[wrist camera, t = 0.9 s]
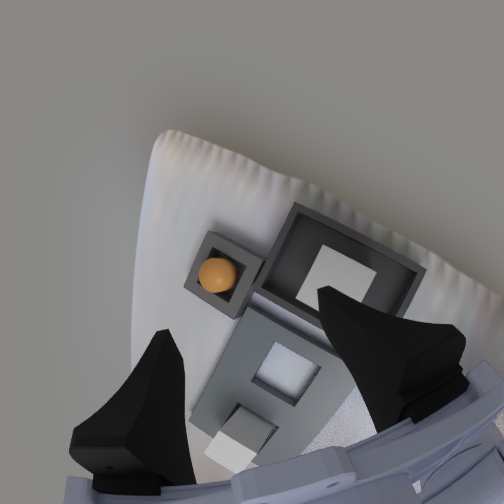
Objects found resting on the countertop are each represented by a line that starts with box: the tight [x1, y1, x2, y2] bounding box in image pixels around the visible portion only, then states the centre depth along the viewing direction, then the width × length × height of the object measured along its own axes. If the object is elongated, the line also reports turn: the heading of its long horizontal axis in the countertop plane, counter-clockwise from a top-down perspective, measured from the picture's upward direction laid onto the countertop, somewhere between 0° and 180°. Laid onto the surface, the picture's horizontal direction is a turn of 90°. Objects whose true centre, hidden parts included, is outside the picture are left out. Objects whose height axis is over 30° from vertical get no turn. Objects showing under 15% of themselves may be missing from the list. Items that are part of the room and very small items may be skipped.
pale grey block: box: [296, 245, 377, 311], centre depth 21 cm, size 4×4×6 cm
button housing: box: [184, 231, 267, 320], centre depth 27 cm, size 6×6×2 cm
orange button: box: [199, 258, 239, 293], centre depth 26 cm, size 3×3×2 cm
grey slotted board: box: [188, 305, 356, 466], centre depth 26 cm, size 12×16×1 cm
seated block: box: [204, 405, 275, 474], centre depth 24 cm, size 4×4×6 cm
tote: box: [252, 202, 427, 330], centre depth 23 cm, size 12×8×2 cm
